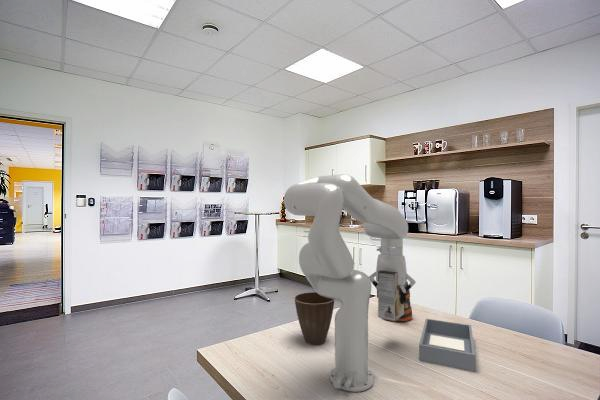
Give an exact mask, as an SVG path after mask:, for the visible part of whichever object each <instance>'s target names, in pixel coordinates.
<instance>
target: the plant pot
mask: <svg viewBox="0 0 600 400" xmlns="http://www.w3.org/2000/svg"><path fill="white" fill-rule="evenodd" d="M294 305H295V310H296V315H297V320H298V324H299V326H300V330H301V332H302V336H303V338H304V341H305V343H306V344H309V345H313V346H314V345H315V346H316V345H317V346H318V345H322V344H324V343H325V342H326V339H327V336H328V334H329V330H330V327H331V323H332V317H333V313H334V308H335V307H334V306H335V300H334V299H330V298H326V297H323V296H320V295H319V294H318V293H317V292H316V291H315V292H314V291H312V292H311V291H310V292H303V293H299V294H297V295H295V297H294Z"/></svg>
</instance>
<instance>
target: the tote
mask: <svg viewBox="0 0 600 400" xmlns="http://www.w3.org/2000/svg"><path fill="white" fill-rule="evenodd" d="M431 335H435V336H440V337H446V338H452V339H458V340H464V351H465V352H461V351H456V350H450V349H445V348H440V347H434V346H429V342H430V337H431ZM474 343H475V342H474V336H473V330H472V324H465V323H460V322H459V323H457V322H451V321H445V320H438V319H431V318H425V320H424V324H423V328H422V332H421V336H420V339H419V344H418V349H419V352H418V356H419V358H418V359H419V362H424V363H428V364H434V365H437V366H442V367H448V368H452V369H457V370H461V371H466V372H470V373H476V369H477V368H476V351H475V344H474Z"/></svg>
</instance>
